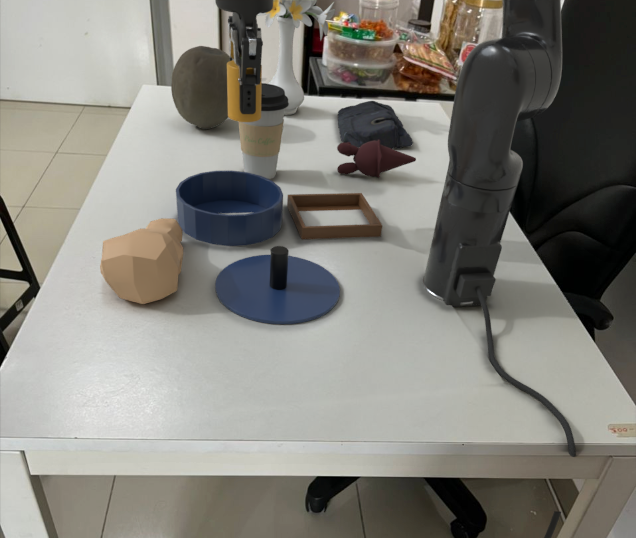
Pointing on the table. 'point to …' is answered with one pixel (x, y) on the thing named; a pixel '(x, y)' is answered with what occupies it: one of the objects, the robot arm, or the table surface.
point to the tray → (333, 203)
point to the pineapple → (234, 95)
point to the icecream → (371, 158)
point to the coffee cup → (264, 133)
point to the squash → (144, 261)
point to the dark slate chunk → (372, 125)
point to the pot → (229, 207)
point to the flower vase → (291, 10)
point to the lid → (277, 288)
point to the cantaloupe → (201, 86)
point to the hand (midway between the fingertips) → (244, 106)
